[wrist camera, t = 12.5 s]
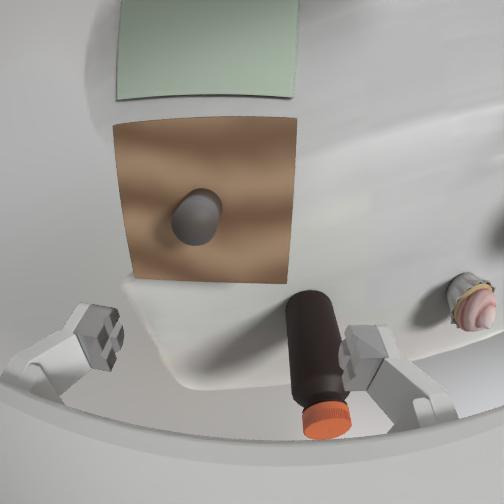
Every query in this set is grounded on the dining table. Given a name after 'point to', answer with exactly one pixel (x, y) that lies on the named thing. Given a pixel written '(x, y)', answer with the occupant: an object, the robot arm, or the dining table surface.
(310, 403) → the bottle
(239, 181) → the lid
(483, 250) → the dining table surface
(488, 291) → the cupcake
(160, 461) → the robot arm
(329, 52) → the dining table surface
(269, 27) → the mat
